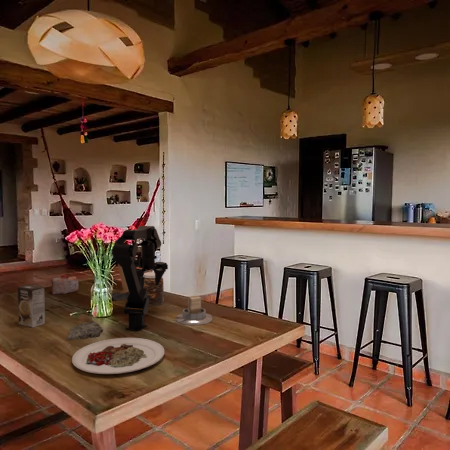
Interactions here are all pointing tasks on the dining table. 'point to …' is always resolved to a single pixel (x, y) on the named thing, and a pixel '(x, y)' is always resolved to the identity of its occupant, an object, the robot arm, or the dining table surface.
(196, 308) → the wedge pin
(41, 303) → the coffee box
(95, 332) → the stone slab
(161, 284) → the jar
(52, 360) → the dining table surface
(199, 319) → the steel rosette
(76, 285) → the food item
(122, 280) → the hammer
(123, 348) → the plated food
